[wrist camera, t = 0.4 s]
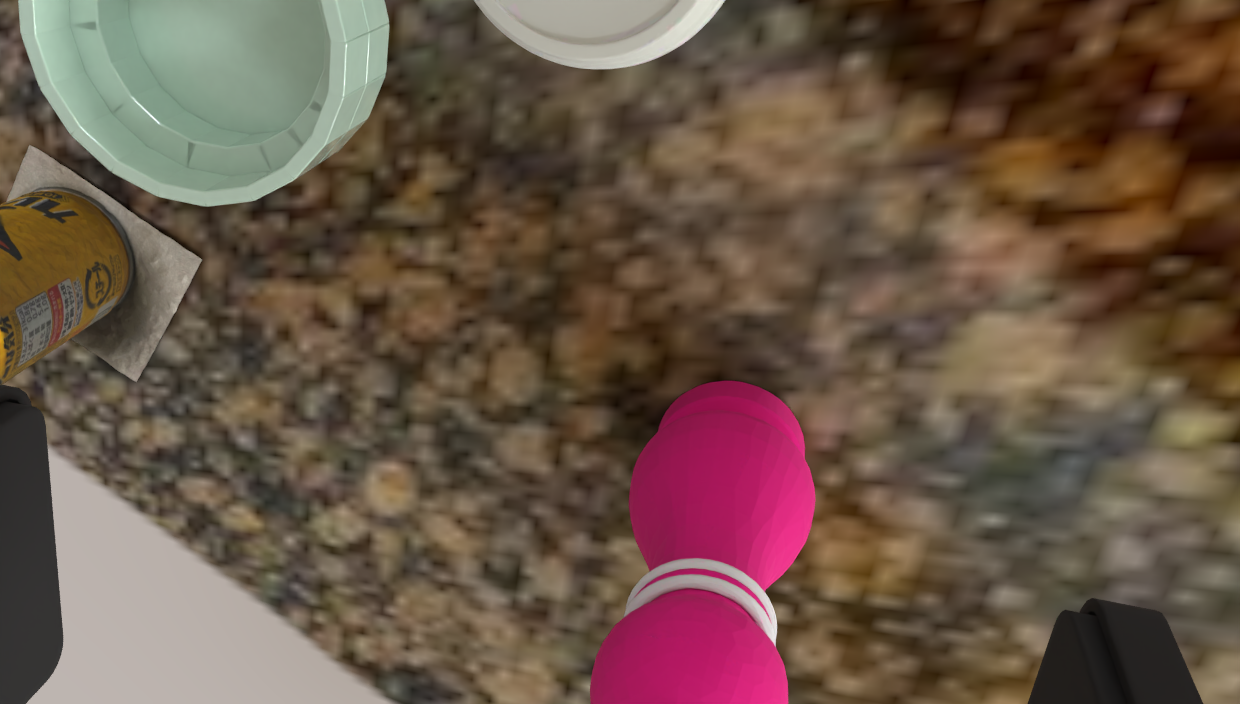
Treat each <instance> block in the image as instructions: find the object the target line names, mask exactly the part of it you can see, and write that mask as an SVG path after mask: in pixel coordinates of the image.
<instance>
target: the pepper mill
mask: <svg viewBox="0 0 1240 704" xmlns="http://www.w3.org/2000/svg"><path fill="white" fill-rule="evenodd" d="M804 458H805V445H804V437H803V433H802V431H801V428H800V426H799V423H798V421H797V419H796V418H795V416H794V415H793V413H792V412H791V410H790V409H789V408H788V407H787V406H786V405H785V404H784V403H783V402H782V401H781V400H780V399H779V398H777V397H776V396H775V395H773V394H772V393H770V392H768V391H766V390H764V389H762V388H760V387H758V386H754V385H751V384H748V383H744V382H738V381H718V382H710V383H706V384H703V385H700V386H697V387H695V388H693V389H691V390H689V391H687V392H686V393H684V394H682V395H681V396H680V397H679V398H678V399H676V400H675V401H674V402H673V403H672V404H671V406H670V407H669V408H668V410H667V411H666V412H665V414H664V416H663V418H662V420H661V423H660V425H659V429H658V432H657V433H656V434H655V435H654V436H653V438H652V439H651V440H650V441H649V442H648V443H647V445H646V446H645V448H644V449H643V451H642V452H641V454H640V455H639V457H638V460H637V462H636V464H635V467H634V470H633V475H632V479H631V487H630V495H629V510H630V518H631V523H632V528H633V532H634V536H635V539H636V542H637V544H638V547H639V549H640V551H641V553H642V555H643V557H644V559H645V561H646V563H647V565H648V568H649V570H650V572H649V573H647V574H646V575H645V576H643V577H642V579H641V580H640V581H639V582H638V583H637V584H636V585H635V587H634V588H633V590H632V591H631V593H630V596H629V598H628V601H627V605H626V611H625V614H624V617H623V619H622V620H621V621H619V622H618V623H617V624H616V625H615V626H614V628H613V629H612V630H611V632H610V633H609V634H608V636H607V637H606V639H605V640H604V641H603V643H602V645H601V647H600V650H599V652H598V654H597V656H596V660H595V664H594V668H593V672H592V677H591V685H590V699H591V704H788V682H787V677H786V672H785V667H784V663H783V661H782V659H781V657H780V655H779V653H778V651H777V649H776V642H775V640H776V635H777V621H776V615H775V612H774V609H773V606H772V604H771V602H770V600H769V598H768V596H767V595H766V593H765V590H766V589H767V588H768V587H769V586H770V585H771V584H772V583H774V582H775V581H776V580H777V579H778V578H779V577H781V576H782V575H783V574H784V573H785V571H786V570H787V569H788V568H789V567H790V566H791V564H792V563H793V562H794V560H795V559H796V557H797V555H798V554H799V552H800V550H801V549H802V547H803V546H804V544H805V542H806V540H807V537H808V534H809V531H810V528H811V524H812V519H813V514H814V507H815V489H814V484H813V480H812V476H811V472H810V468H809V467H808V465H807V463H806V461H805V459H804Z"/></svg>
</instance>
